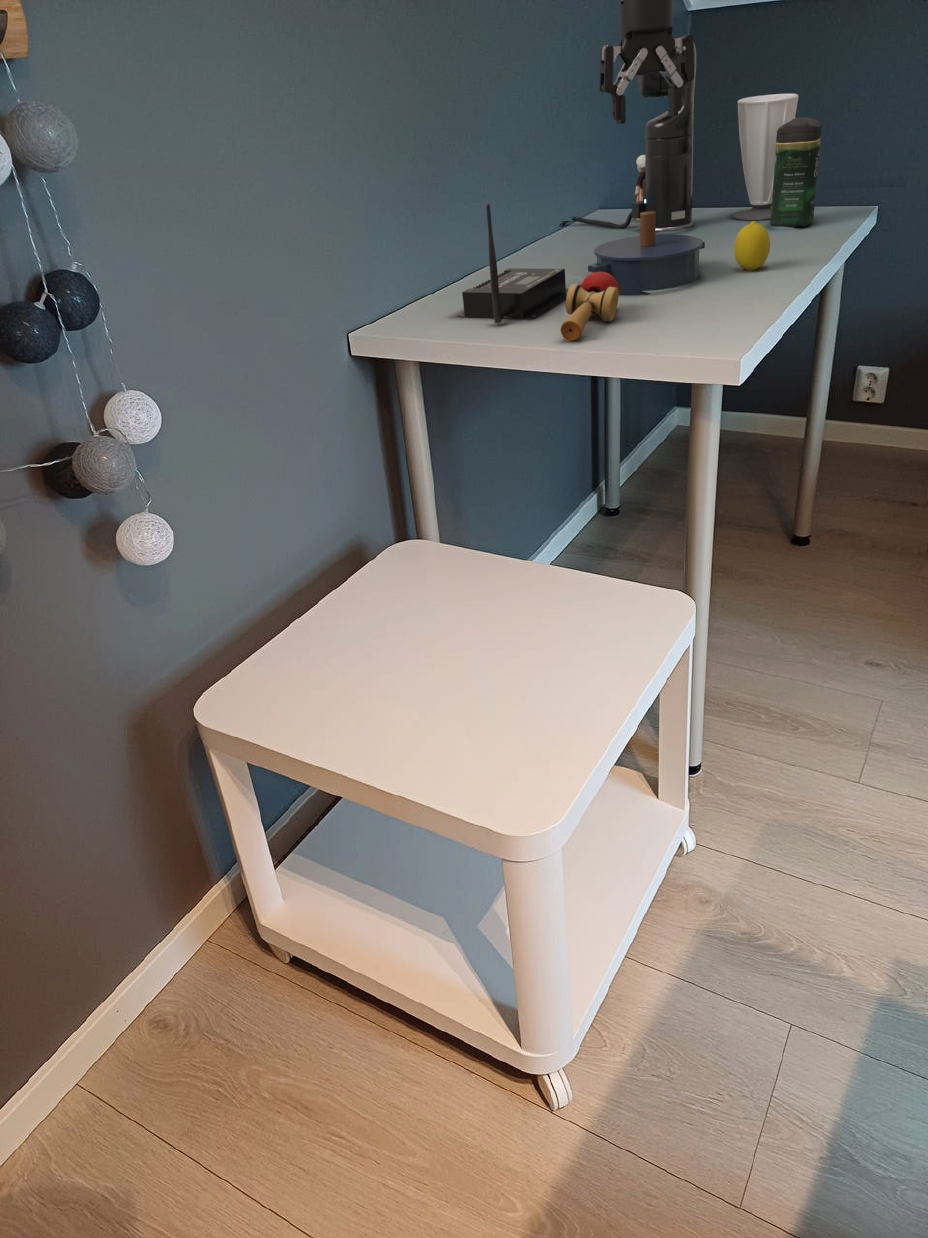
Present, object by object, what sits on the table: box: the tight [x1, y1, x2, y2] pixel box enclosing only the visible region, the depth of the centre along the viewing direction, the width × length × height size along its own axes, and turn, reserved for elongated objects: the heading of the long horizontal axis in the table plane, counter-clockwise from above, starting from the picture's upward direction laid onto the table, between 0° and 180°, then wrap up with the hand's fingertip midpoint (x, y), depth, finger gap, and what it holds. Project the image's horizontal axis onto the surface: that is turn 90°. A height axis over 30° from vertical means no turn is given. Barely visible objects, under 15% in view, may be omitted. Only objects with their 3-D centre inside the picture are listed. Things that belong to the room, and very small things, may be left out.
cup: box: [732, 93, 799, 221], centre depth 190 cm, size 12×12×22 cm
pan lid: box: [593, 211, 704, 261], centre depth 153 cm, size 17×17×6 cm
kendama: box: [560, 272, 620, 342], centre depth 137 cm, size 8×6×18 cm
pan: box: [587, 241, 706, 296], centre depth 155 cm, size 16×22×5 cm
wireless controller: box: [456, 203, 568, 324], centre depth 147 cm, size 20×14×17 cm
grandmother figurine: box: [634, 154, 645, 221], centre depth 203 cm, size 8×4×13 cm, turn 154°
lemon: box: [733, 220, 771, 272], centre depth 153 cm, size 6×6×8 cm
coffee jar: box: [769, 116, 823, 229], centre depth 180 cm, size 10×8×19 cm
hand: (646, 119), depth 144 cm, fingers open, 8 cm apart
